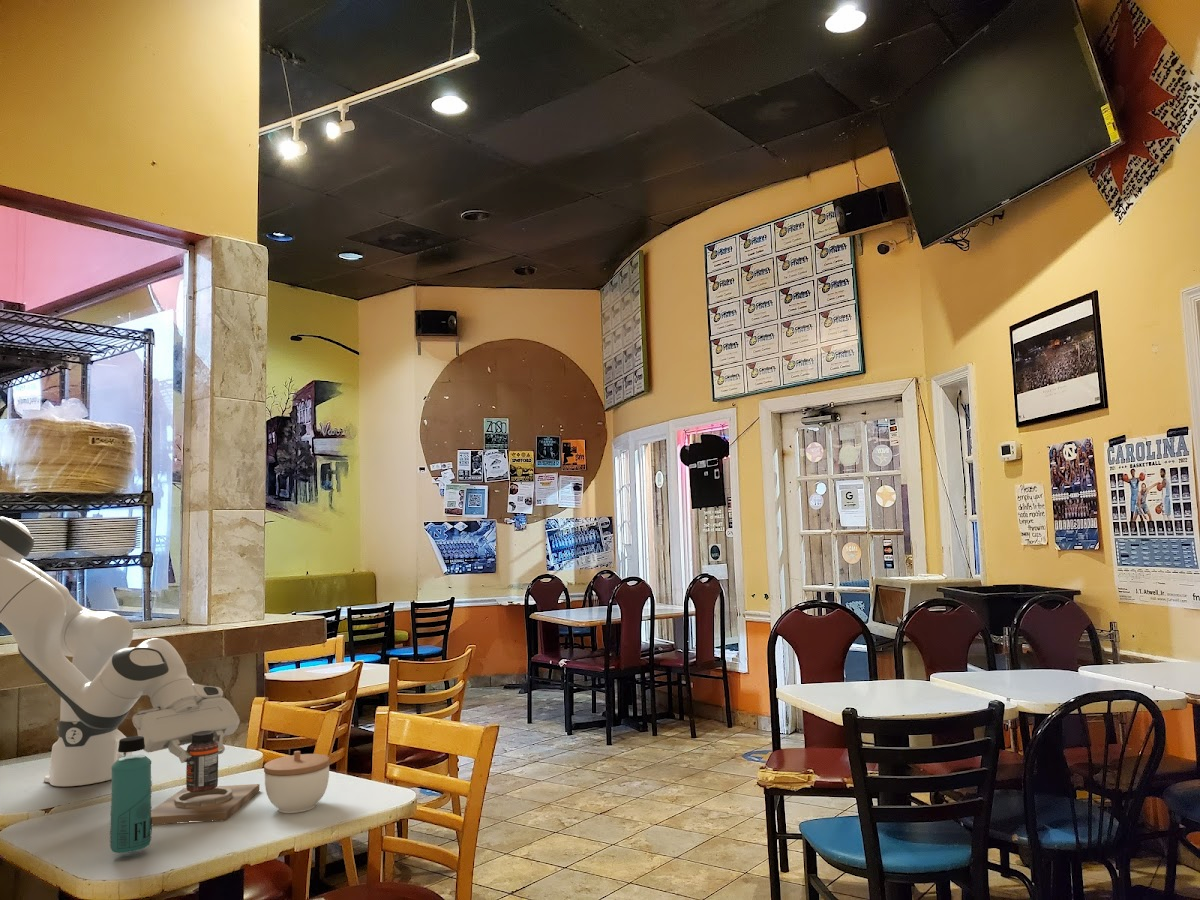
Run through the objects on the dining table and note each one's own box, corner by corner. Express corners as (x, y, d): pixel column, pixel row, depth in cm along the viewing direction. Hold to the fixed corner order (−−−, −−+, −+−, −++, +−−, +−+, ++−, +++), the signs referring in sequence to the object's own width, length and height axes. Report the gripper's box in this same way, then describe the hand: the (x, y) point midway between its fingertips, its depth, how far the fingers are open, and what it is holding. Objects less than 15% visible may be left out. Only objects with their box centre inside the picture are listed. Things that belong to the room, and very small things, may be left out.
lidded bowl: (266, 822, 168) (266, 762, 169) (261, 805, 179) (261, 749, 180) (334, 810, 173) (334, 753, 174) (325, 795, 184) (324, 741, 185)
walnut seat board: (183, 795, 188) (183, 783, 188) (259, 791, 189) (259, 779, 189) (140, 825, 168) (140, 812, 168) (225, 820, 169) (225, 807, 169)
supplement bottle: (181, 790, 179) (181, 733, 180) (210, 783, 183) (210, 727, 184) (193, 795, 174) (194, 736, 176) (223, 788, 179) (223, 731, 180)
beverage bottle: (133, 863, 148) (135, 741, 150) (99, 861, 149) (101, 741, 151) (160, 849, 154) (161, 733, 156) (127, 848, 156) (129, 733, 158)
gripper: (134, 702, 176) (160, 757, 169) (227, 686, 193) (254, 736, 186) (123, 723, 178) (147, 778, 172) (215, 705, 195) (241, 755, 188)
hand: (204, 756), depth 179 cm, fingers closed on supplement bottle, 6 cm apart
